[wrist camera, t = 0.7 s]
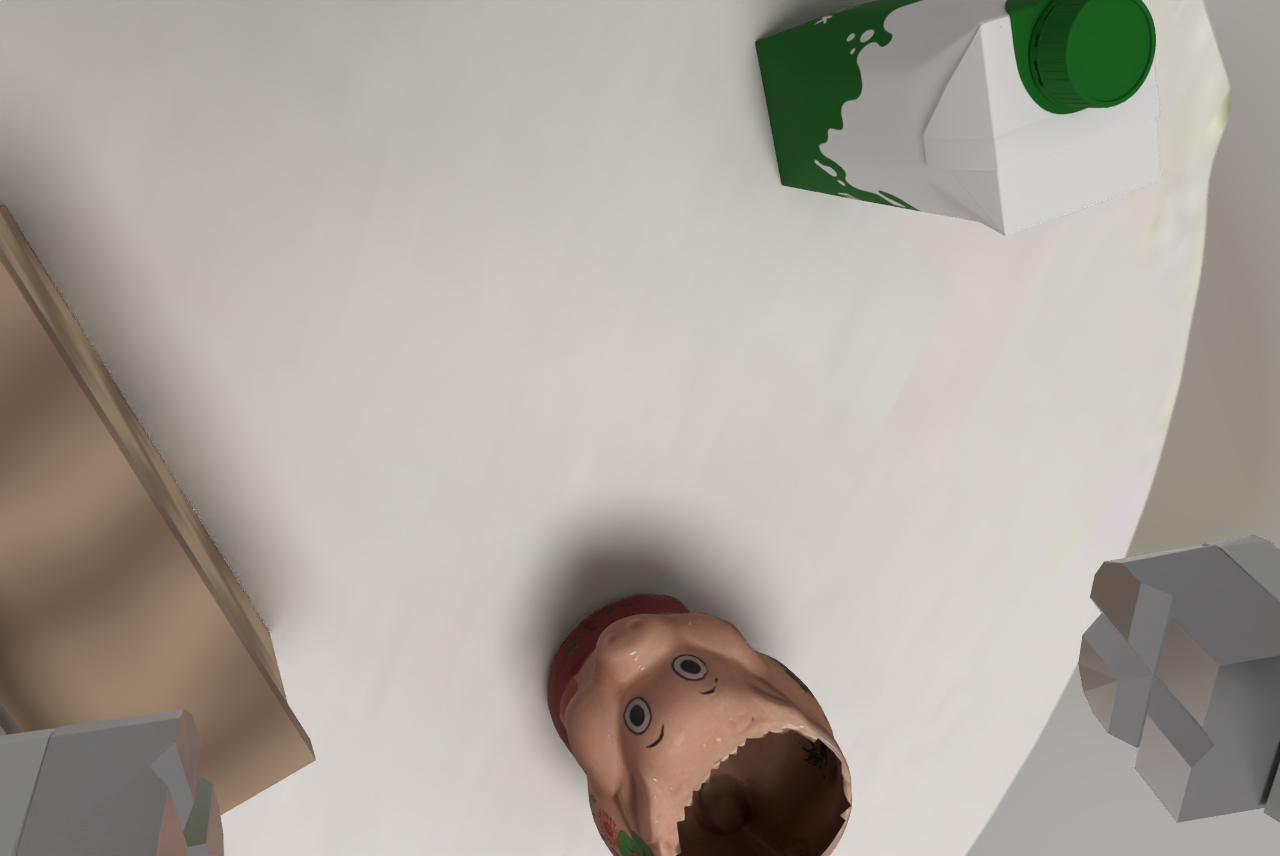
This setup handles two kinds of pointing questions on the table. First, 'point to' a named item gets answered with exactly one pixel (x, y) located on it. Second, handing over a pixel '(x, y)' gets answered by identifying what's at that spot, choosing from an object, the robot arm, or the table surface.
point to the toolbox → (115, 562)
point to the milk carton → (968, 105)
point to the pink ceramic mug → (695, 737)
